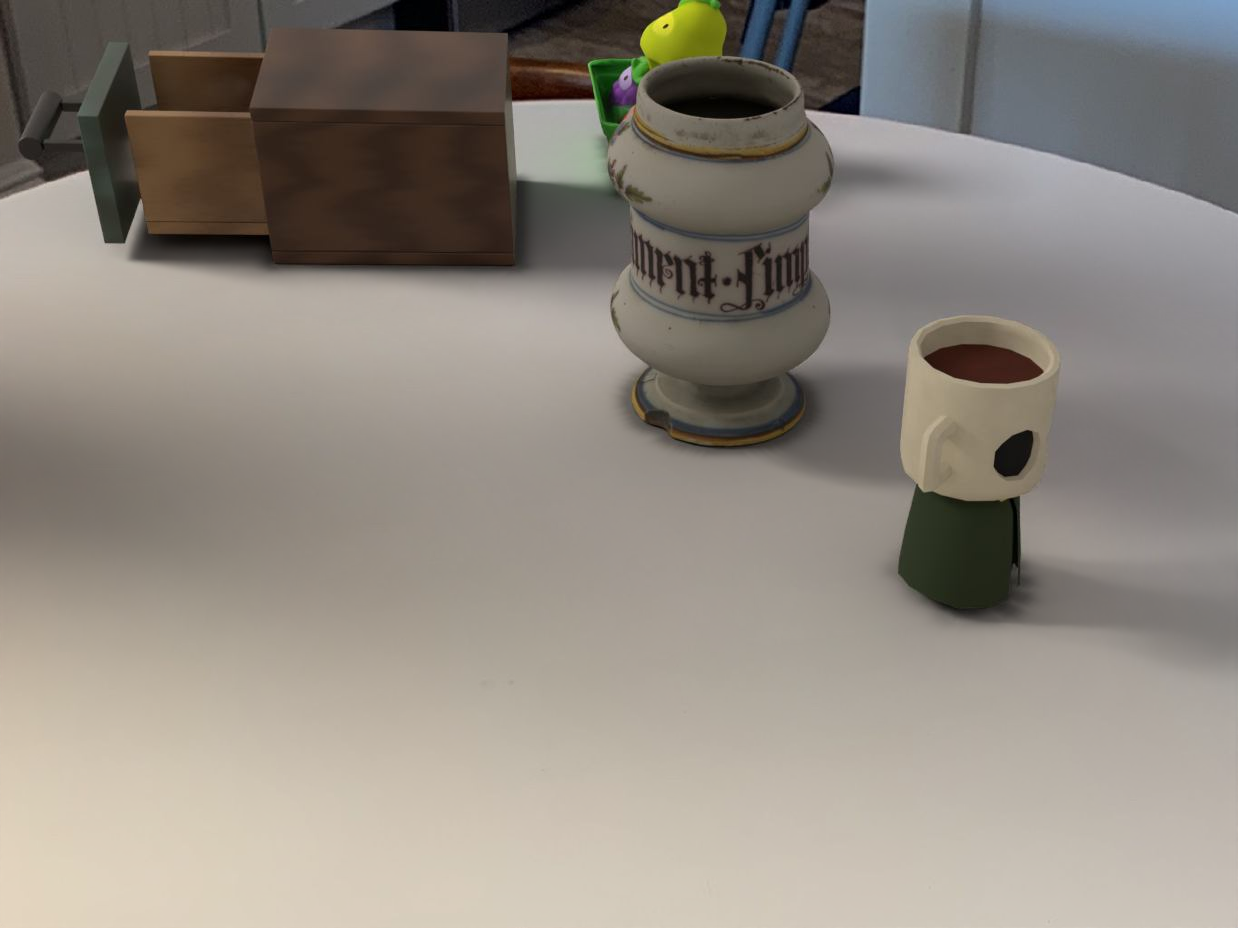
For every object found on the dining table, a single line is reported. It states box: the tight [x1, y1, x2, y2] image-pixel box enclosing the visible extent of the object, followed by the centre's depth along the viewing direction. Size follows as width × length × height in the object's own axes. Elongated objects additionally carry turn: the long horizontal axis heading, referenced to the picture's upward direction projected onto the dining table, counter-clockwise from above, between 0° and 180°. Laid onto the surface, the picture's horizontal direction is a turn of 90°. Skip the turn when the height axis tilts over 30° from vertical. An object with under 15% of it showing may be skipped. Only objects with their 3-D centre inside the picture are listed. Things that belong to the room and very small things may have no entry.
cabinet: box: [249, 27, 518, 266], centre depth 119 cm, size 15×13×10 cm
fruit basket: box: [587, 0, 728, 145], centre depth 127 cm, size 11×9×11 cm
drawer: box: [17, 41, 269, 245], centre depth 117 cm, size 18×11×8 cm, turn 97°
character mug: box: [897, 314, 1062, 610], centre depth 92 cm, size 11×7×13 cm, turn 151°
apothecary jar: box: [606, 55, 835, 447], centre depth 102 cm, size 12×12×18 cm
